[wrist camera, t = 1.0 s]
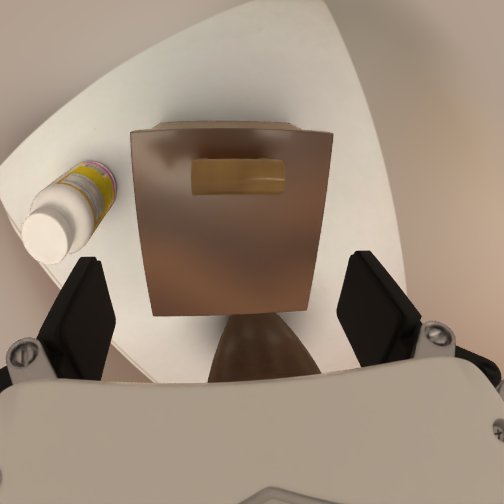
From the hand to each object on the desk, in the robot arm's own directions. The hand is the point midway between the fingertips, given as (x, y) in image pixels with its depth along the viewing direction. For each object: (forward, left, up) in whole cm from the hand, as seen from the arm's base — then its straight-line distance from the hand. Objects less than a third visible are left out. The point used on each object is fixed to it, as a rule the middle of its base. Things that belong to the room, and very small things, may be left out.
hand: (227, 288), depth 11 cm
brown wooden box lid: (+4, +1, -12) cm, 12 cm away
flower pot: (+24, +5, -24) cm, 35 cm away
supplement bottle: (+3, -14, -24) cm, 28 cm away
